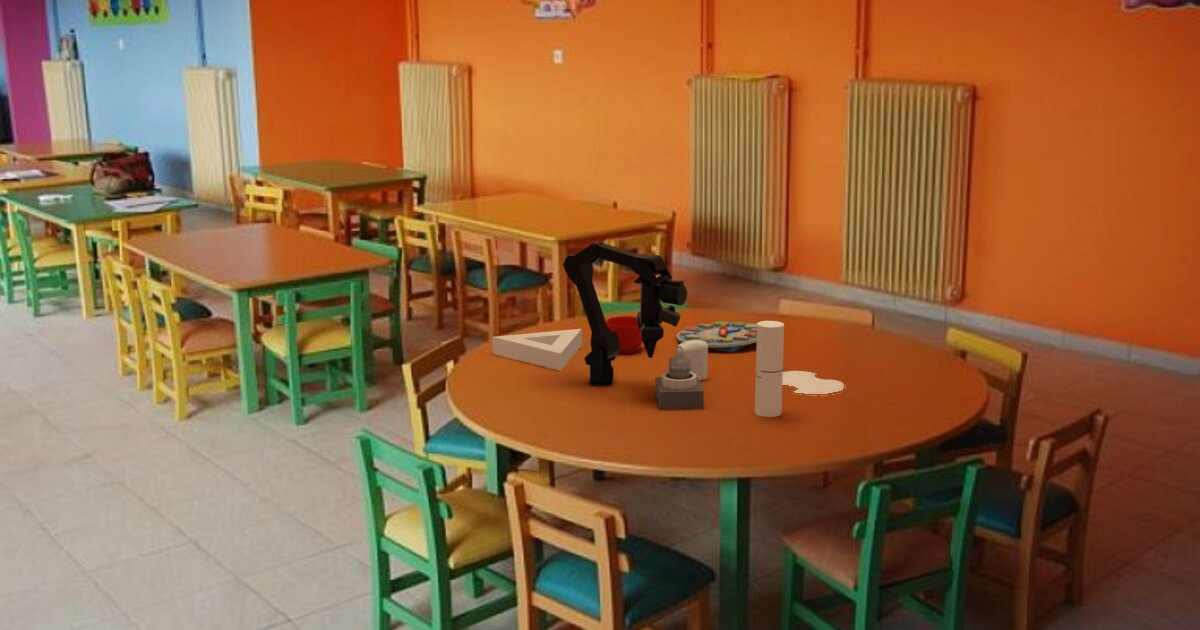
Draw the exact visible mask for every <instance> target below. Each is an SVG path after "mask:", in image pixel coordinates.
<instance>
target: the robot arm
mask: <svg viewBox="0 0 1200 630" xmlns="http://www.w3.org/2000/svg"><path fill="white" fill-rule="evenodd" d="M599 259H600V260H601V259H602V260H605V261H607V262H611V263H613V264H617V265H619V266H623V267H626V268H628V269H630V270H631V271H633V273H635V274H636V275H638V277H637V278H636V279H634V281H633V283H635V284H639V285H640V301H639V307H640V310H639V311H638V312H637V313H636V317H637V324H638V327H639V330H640V332H641V338H642V341H643V343H642V344H643V346H644V348H645V351H646V354H647V357H648V358H651V359H652V358H653V356H654V353H655V349H656V346H657V343H658V341H660V340H662V339H663V337H664V336H665V334H664V333H665V330H664V328H663V325H661V324H663V322H664V323H666V324H668V325H671V326H673V327H676V328H677V327H678V325H679V321H680V319H681V318H682V316H681V314H680V313H679V312H678V311H676V307H675V305H676V306H683V305H684V304H685V303H686V302H687V298H688V290H687V287H686V285H684V284H685V283H684V282H685V281H684V280H675V279H673V276H672V274H671V273H670V271H669V269H668V268H667V266H666V263H665V260H664V258H663V257H662V256H660V255H659V254H653V253H635V252H633V251H630V250H627V249H624V248H619V247H617V246H613V245H610V244H607V243H605V242H603V241H597V242H593V243H591V244H589V245H588V246H587V247H586V248H584V249H582V250H581V251H579V252H577V253H575V254H571V255H568V256H567V257H565V258H564V261H563V263H562V265H563V269H564V271H565V274H566V275H567V277H568V279H569V280H570V281H571V282H572V283H573V284H574V285H575V286H576V289H577V292H578V295H579V298H580V302H581V303H582V308H583V311H584V314H585V316H586V319H587V322H588V325H589V328H590V332H591V334H590V336H591V337H590V344H589V345H590V349H591V350H590V352H589V353H588V354H587V355H586V356H585V357H584V361H585V365H586V366H589V378H588V380H589V386H612V385H613V383H614V366H613V365H612V362H613V361H615V360H616V358H617V355H618V354H620V353H619V350H620V344H621V342H620V341H619V339H618V334H617V332H616V331H613V332H612V331H611V330H610V329H609V328H608V327H607V324H606V321H607V320H606V318H605V315H604V312H603V309H602V307H601V304H600V301H599V298H598V294H597V292H596V287H595V285H594V283H593V282H594V281H593V276H594V265H593V264H594V263H595V262H596V261H598V260H599ZM659 275H660V276H659ZM662 303H664V304H668V306H667V307H663V305H662Z"/></svg>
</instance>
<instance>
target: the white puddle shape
mask: <svg viewBox="0 0 1200 630" xmlns="http://www.w3.org/2000/svg"><path fill="white" fill-rule="evenodd" d="M815 374H816V375H817V373H815V372H811V371H806V370H805V371H804V370H802V371H801V370H788V371H783V377H782V385H789V386H788V387H791V386H794V387H796V388H798V389H796V388H795V390H794V391H793V392H795V393H804V394H828V393H833V392H838V391H841V390H843V388H844V385H845V384H844V383H843V382H842V381H841V380H839V381H837V379H836V380H835V379H824V378H823V379H822V378H819V377H815ZM794 387H793V388H794Z"/></svg>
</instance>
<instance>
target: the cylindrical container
mask: <svg viewBox="0 0 1200 630" xmlns="http://www.w3.org/2000/svg"><path fill="white" fill-rule="evenodd" d="M756 324H757V342H756V350H755V351H756V353H755V354H756V355H755V357H756V359H755V361H756V362H755V393H754V395H755V396H754V397H755V398H754V399H755V400H754V401H755V402H754V414H755V415H757V416H760V417H763V418H775V417H779V416H781V415H782V406H783V405H782V403H783V386H782V377H783V372H784V369H783V368H784V342H785V341H784V340H785V336H784V335H785V323H783V322H781V321H779V320H778V321H776V320H762V321H759V322H757V323H756Z"/></svg>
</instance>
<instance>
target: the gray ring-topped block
mask: <svg viewBox="0 0 1200 630" xmlns="http://www.w3.org/2000/svg"><path fill="white" fill-rule="evenodd" d="M654 380H655V382H654V383H655V385H654V387H655V388H654V394H655V397H656V401H657V404H658V406H659V409H660V410H691V409H692V410H693V409H695V410H696V409H697V410H698V409H704V403H705V402H704V399H705V396H704V395H705V393H704V392H705V391H704V389H703V388H704V387H702V384H701V383H700V381H699V379H698V377H697V376H696V374H695V373H692V372H690V378H689V379H683V380H676V379H670V378H669V371H666V372H665V371H664V372H663V373H661V376H656V377H655V379H654Z"/></svg>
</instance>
